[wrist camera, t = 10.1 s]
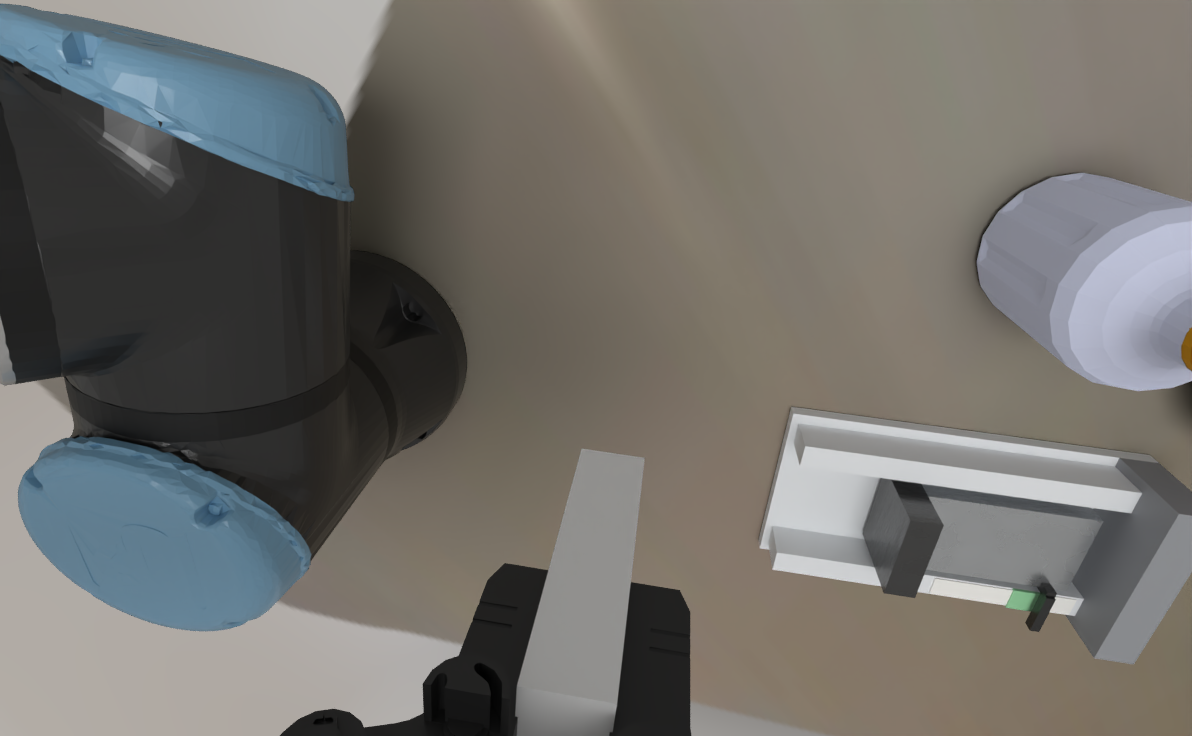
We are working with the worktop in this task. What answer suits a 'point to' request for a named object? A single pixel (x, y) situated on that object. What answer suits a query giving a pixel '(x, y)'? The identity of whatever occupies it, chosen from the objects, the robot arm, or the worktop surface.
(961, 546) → the block with dark end
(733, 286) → the worktop surface
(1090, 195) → the soap bottle
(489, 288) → the worktop surface
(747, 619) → the worktop surface
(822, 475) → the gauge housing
